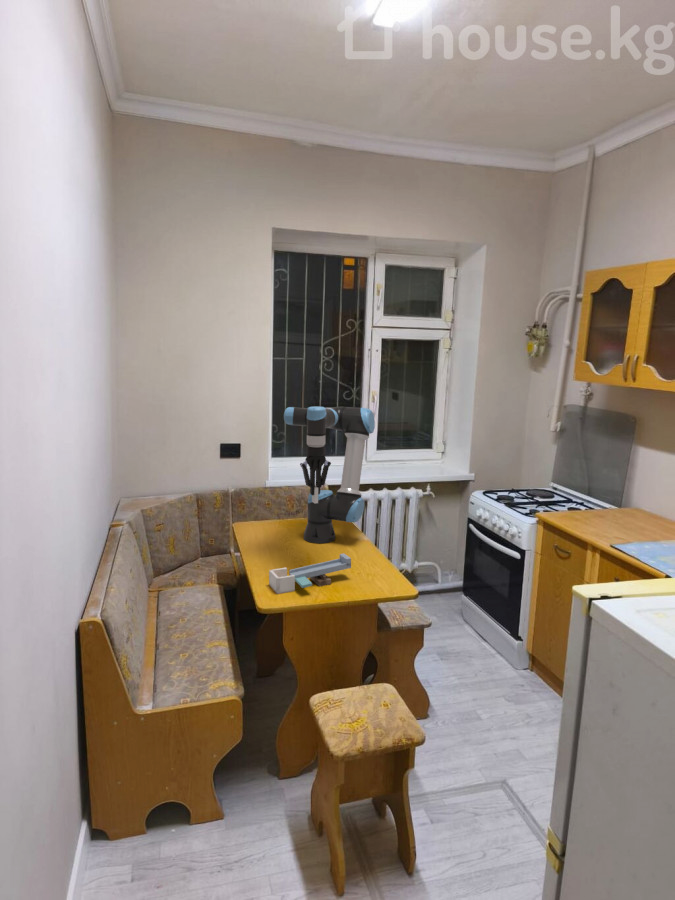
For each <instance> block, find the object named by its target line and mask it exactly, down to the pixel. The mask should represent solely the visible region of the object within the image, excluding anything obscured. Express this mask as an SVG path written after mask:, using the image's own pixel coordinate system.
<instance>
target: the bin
mask: <svg viewBox="0 0 675 900" xmlns="http://www.w3.org/2000/svg"><path fill="white" fill-rule="evenodd" d="M295 582H296V581H295V575H288V568H287V567H282V568H274V569H269V571H268V585H269V587H271V589H272V590H273V591H274V592H275V593H276V594H277V595H279V594H285V593H290V592H295V590H296V588H295V587H296V586H295V585H296V583H295Z"/></svg>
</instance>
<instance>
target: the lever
mask: <svg viewBox="0 0 675 900" xmlns="http://www.w3.org/2000/svg"><path fill="white" fill-rule="evenodd" d="M347 569H352V558H351V557H350V556H349V555H347V554H345V553H340V554H339V558H336V559H331V560H328V561H323V562H318V563H314V564H308V565H304V566H301V567H297V568H293V569H289V570H288V574H289V575H288V576H290V575H295V582H296V583H297V585H299V586H300V588H302V589H304V588H308V587H313V583H312V581H310V580H309V579H311V578H310V577H314V576H319V575H323V574H325V575H327V574H330V573H334V572H338V571H339V572H340V571H344V570H347Z"/></svg>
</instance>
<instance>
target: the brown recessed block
mask: <svg viewBox="0 0 675 900" xmlns="http://www.w3.org/2000/svg"><path fill="white" fill-rule="evenodd" d="M309 579H311V581H312V582H314V583H315V584H316V585H317V586H318V587H323V586H324V587H325V586H329V585H331V584H332V579H331V578H330V577H329V576H328V575H327V574H323V575H319V576H314V577H310V578H309Z"/></svg>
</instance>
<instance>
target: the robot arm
mask: <svg viewBox="0 0 675 900" xmlns="http://www.w3.org/2000/svg"><path fill="white" fill-rule="evenodd" d="M283 420H284V422H285V424H286V425H289V426H299V427H300V426H301V427H306V458H305V460H304V461H303V462H300V464H299V466H300V467H301V469H302V472H303V477H304V482H305V485H306V486H307V487H309V488H310V490H309V494H308V496H307V524H306V527H305V529H304V532H303V540H305V541H306V542H309V543H313V544H328V543H331V542H334V541H335V539H336V533H335V529H334V527H333V526H334V525H333V521H339V522H347V523H357V522H359V521H360V519H361V518H362V516H363V513H364V509H365V499H364V498H363V497H362V493H361V492H360V491H359V489H360V484H361V483H360V482H361V475H362V469H363V468H362V467H363V460H364V452H365V446H366V445H365V444H366V441H367V440H368V439H369V438H370V434H371V435H372V434H373V433H374V430H375V427H376V421H375V415H374V412H373V411H372V409H371V408H365V407H357V406H354V407H353V406H351V407H350V406H335V407H324V406H315V405H314V406H309V407H295V406H289V407H287V408H286V409H285V410H284V413H283ZM326 429H332V430H335V431H342V432H344V435H345V437H346V447H345V451H344V453H345V454H344V461H343V468H342V475H341V482H340V483H341V484H340V488H339V489H338V490H337V491H336V494H334V492H333V490H330V489H321V488H322V487H323V486H325V485H326V480H327V476H328V471H329V467H330V466H331V464H332V462H331V461H329V460H327V458H326V446H325V445H326V433H327V431H326ZM308 467H309V469H308Z"/></svg>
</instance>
